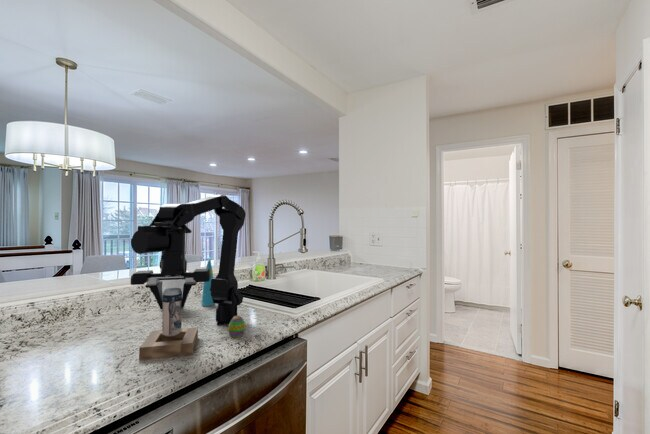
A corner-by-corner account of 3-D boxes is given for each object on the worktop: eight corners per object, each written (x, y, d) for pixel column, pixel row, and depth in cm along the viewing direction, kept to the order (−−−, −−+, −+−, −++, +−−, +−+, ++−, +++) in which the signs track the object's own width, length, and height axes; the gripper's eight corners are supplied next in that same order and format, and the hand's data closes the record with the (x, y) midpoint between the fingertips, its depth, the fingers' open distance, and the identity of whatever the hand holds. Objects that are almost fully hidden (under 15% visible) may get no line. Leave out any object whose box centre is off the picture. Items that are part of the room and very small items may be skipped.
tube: (215, 306, 123) (216, 258, 123) (202, 307, 121) (203, 258, 121) (213, 302, 130) (214, 256, 130) (201, 303, 127) (202, 256, 128)
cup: (193, 307, 120) (194, 271, 121) (166, 314, 111) (167, 275, 111) (177, 303, 126) (178, 269, 127) (149, 309, 117) (150, 272, 117)
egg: (240, 339, 89) (241, 318, 89) (225, 338, 90) (225, 317, 90) (247, 333, 94) (248, 313, 94) (233, 332, 95) (233, 312, 95)
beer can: (173, 338, 80) (174, 291, 80) (157, 336, 81) (158, 290, 81) (185, 331, 84) (186, 287, 84) (170, 330, 85) (170, 287, 85)
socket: (197, 337, 90) (197, 327, 90) (192, 354, 78) (192, 342, 78) (151, 341, 86) (152, 330, 86) (139, 360, 75) (139, 347, 75)
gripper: (212, 247, 93) (211, 298, 93) (143, 248, 88) (142, 302, 88) (209, 251, 82) (208, 309, 82) (130, 252, 77) (129, 314, 77)
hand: (172, 308), depth 83 cm, fingers closed on beer can, 5 cm apart
